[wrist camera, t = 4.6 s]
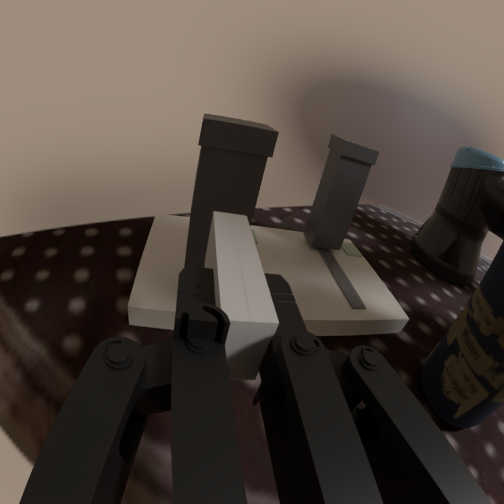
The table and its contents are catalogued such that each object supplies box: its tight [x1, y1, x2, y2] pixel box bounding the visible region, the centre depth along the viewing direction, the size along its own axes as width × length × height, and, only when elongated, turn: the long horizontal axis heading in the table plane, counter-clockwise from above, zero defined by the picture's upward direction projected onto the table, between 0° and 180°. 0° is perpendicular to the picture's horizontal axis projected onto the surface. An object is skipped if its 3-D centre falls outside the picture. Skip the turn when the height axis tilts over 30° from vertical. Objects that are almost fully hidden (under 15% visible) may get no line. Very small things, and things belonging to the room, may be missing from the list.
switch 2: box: [303, 134, 379, 251], centre depth 31 cm, size 4×4×13 cm
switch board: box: [128, 214, 409, 336], centre depth 29 cm, size 26×16×2 cm, turn 98°
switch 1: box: [184, 114, 278, 268], centre depth 20 cm, size 4×4×13 cm
